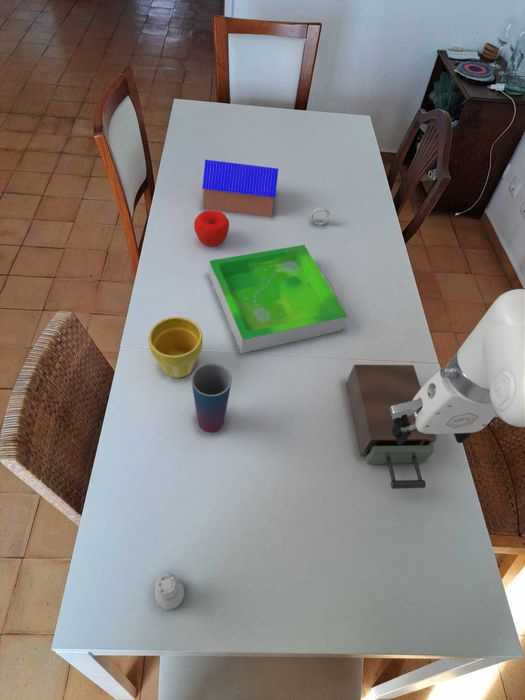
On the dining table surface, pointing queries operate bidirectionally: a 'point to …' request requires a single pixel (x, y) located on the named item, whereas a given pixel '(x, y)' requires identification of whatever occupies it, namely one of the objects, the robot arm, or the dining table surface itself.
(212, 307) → the dining table surface
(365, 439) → the cabinet
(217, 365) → the cup
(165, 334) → the flower pot
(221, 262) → the tray
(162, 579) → the rook chess piece
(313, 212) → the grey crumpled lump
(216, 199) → the house
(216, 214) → the apple
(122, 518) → the dining table surface
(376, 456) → the drawer
